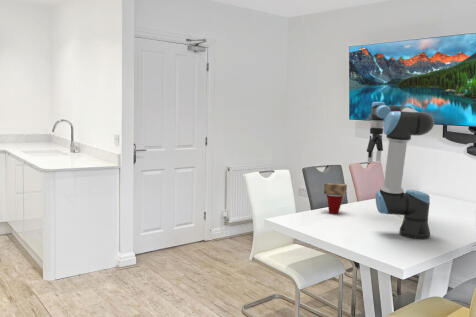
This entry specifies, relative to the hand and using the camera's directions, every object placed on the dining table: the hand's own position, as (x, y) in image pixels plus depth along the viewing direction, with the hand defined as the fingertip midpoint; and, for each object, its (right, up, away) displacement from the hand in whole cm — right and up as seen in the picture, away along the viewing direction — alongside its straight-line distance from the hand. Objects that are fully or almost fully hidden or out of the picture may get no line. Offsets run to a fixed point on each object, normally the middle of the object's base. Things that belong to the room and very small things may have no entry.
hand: (374, 162), depth 273 cm
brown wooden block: (-23, -20, +2) cm, 31 cm away
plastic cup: (-24, -32, +4) cm, 40 cm away
